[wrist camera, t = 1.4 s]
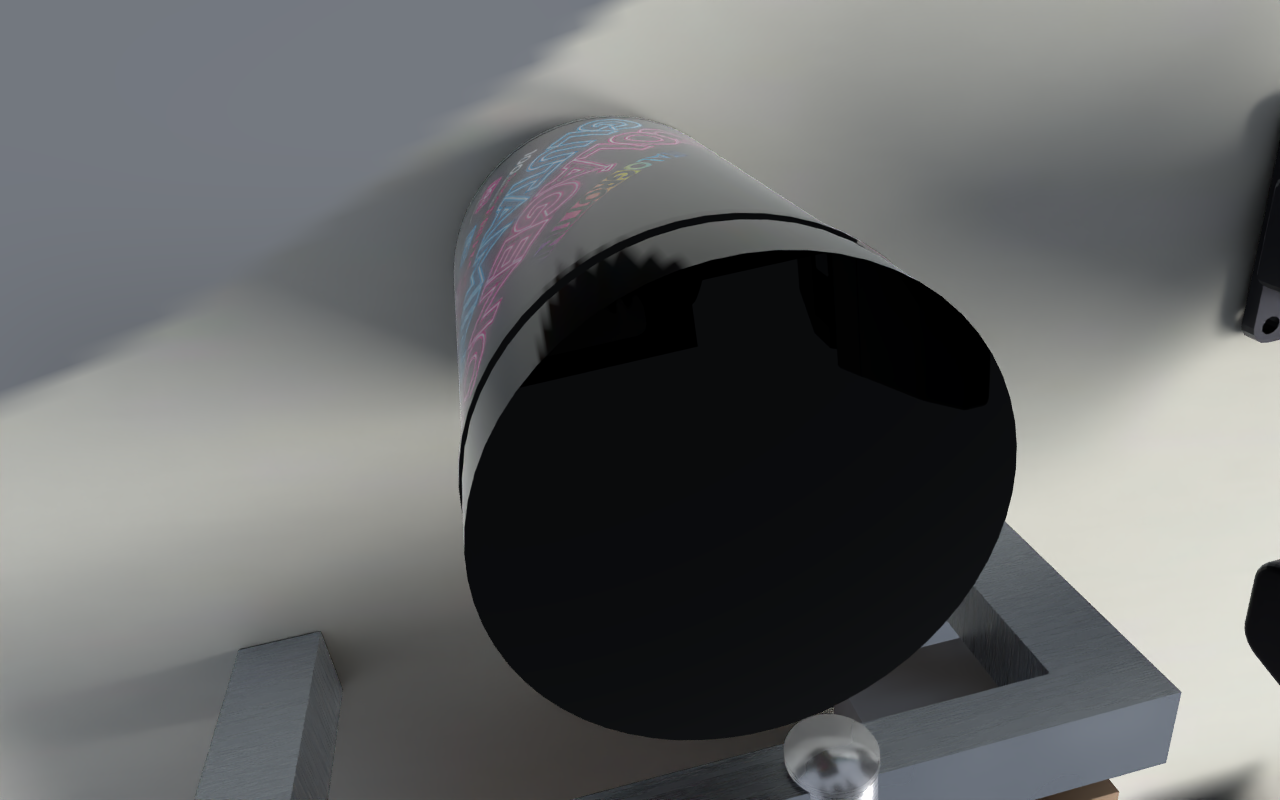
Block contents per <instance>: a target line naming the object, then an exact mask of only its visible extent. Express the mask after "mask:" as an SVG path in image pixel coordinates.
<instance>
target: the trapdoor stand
mask: <svg viewBox="0 0 1280 800" xmlns="http://www.w3.org/2000/svg"><path fill="white" fill-rule="evenodd" d="M957 638H961V639H962V641H963V642H964V643H965V645H966V646H967V647H968V648H969V650H970V651H971V652H972V653H973V655H974V656H975V657H976V659H977V660H978V661H979V662H980V664H981V665H982V666H983V668H984V669H985V670H986V671H987V673H988V674H989V675H990V676H991V678H992V679H993V680H994V682H995V683H996V684H997V685H998V687H997V688H993V689H990V690H986V691H982V692H978V693H974V694H971V695H967V696H963V697H959V698H955V699H952V700H948V701H944V702H940V703H936V704H933V705H929V706H925V707H921V708H917V709H914V710H910V711H906V712H902V713H898V714H895V715H891V716H887V717H883V718H879V719H876V720H872V721H868V722H864V723H859V722H857V721H855V720H853V719H851V718H848V717H845V716H841V715H836V714H820V715H814V716H811V717H808V718H806V719H804V720H802V721H800V722H798V723H797V724H796V725H795V726H794V727H793V728H792V729H791V730H790V731H789V733H788V735H787V737H786V739H785V742H784V744H781V745H777V746H773V747H769V748H765V749H762V750H758V751H754V752H750V753H746V754H743V755H739V756H735V757H731V758H727V759H724V760H720V761H716V762H712V763H708V764H705V765H701V766H697V767H693V768H689V769H686V770H682V771H678V772H674V773H670V774H667V775H663V776H659V777H655V778H651V779H648V780H644V781H640V782H636V783H632V784H629V785H625V786H621V787H617V788H613V789H610V790H606V791H602V792H598V793H594V794H591V795H587V796H583V797H579V798H575V799H572V800H1036V799H1039V798H1043V797H1046V796H1050V795H1053V794H1057V793H1060V792H1064V791H1068V790H1071V789H1075V788H1078V787H1082V786H1085V785H1089V784H1092V783H1096V782H1099V781H1103V780H1107V779H1110V778H1114V777H1117V776H1121V775H1124V774H1128V773H1131V772H1135V771H1138V770H1142V769H1145V768H1149V767H1153V766H1156V765H1160V764H1163V763H1166V760H1167V756H1168V751H1169V746H1170V742H1171V737H1172V733H1173V728H1174V723H1175V719H1176V714H1177V710H1178V705H1179V701H1180V696H1181V691H1180V690H1179V689H1178V688H1177V687H1176V686H1175V685H1174V684H1173V683H1171V682H1170V681H1169V680H1168V679H1167V678H1166V677H1165V676H1164V675H1163V674H1162V673H1161V672H1160V671H1159V670H1158V669H1157V668H1156V667H1155V666H1154V665H1153V664H1152V663H1151V662H1150V661H1149V660H1148V659H1147V658H1146V657H1145V656H1144V655H1143V654H1142V653H1140V652H1139V651H1138V650H1137V649H1136V648H1135V647H1134V646H1133V645H1132V644H1131V643H1130V642H1129V641H1128V640H1127V639H1126V638H1125V637H1124V636H1123V635H1122V634H1121V633H1120V632H1119V631H1118V630H1117V629H1116V628H1115V627H1114V626H1113V625H1112V624H1111V623H1109V622H1108V621H1107V620H1106V619H1105V618H1104V617H1103V616H1102V615H1101V614H1100V613H1099V612H1098V611H1097V610H1096V609H1095V608H1094V607H1093V606H1092V605H1091V604H1090V603H1089V602H1088V601H1087V600H1086V599H1085V598H1084V597H1083V596H1082V595H1081V594H1080V593H1078V592H1077V591H1076V590H1075V589H1074V588H1073V587H1072V586H1071V585H1070V584H1069V583H1068V582H1067V581H1066V580H1065V579H1064V578H1063V577H1062V576H1061V575H1060V574H1059V573H1058V572H1057V571H1056V570H1055V569H1054V568H1053V567H1052V566H1051V565H1050V564H1049V563H1047V562H1046V561H1045V560H1044V559H1043V558H1042V557H1041V556H1040V555H1039V554H1038V553H1037V552H1036V551H1035V550H1034V549H1033V548H1032V547H1031V546H1030V545H1029V544H1028V543H1027V542H1026V541H1025V540H1024V539H1023V538H1022V537H1021V536H1020V535H1019V534H1018V533H1016V532H1015V531H1014V530H1013V529H1012V528H1011V527H1010V526H1009V525H1008V524H1007V523H1006V522H1005V521H1004V524H1003V527H1002V530H1001V533H1000V535H999V538H998V540H997V543H996V545H995V547H994V549H993V551H992V553H991V555H990V558H989V560H988V562H987V564H986V565H985V567H984V569H983V570H982V572H981V574H980V576H979V577H978V579H977V581H976V583H975V584H974V586H973V587H972V588H971V590H970V591H969V593H968V594H967V596H966V597H965V598H964V600H963V601H962V603H961V604H960V605H959V607H958V608H957V609H956V610H955V611H954V613H953V614H952V615H951V616H950V618H949V619H948V620H947V621H946V622H945V624H944V625H943V626H942V627H941V628H940V629H939V630H938V631H937V632H936V633H935V634H934V635H933V636H932V637H931V638H930V639H929V640H928V641H927V642H926V643H925V644H924V645H923V646H922V647H925V646H929V645H933V644H937V643H941V642H945V641H949V640H953V639H957ZM342 692H343V689H342V686H341V683H340V681H339V678H338V676H337V673H336V670H335V668H334V665H333V662H332V660H331V657H330V655H329V652H328V649H327V647H326V644H325V642H324V639H323V636H322V634H321V631H320V632H315V633H311V634H307V635H302V636H298V637H294V638H289V639H285V640H281V641H276V642H272V643H268V644H263V645H259V646H255V647H250V648H246V649H242V650H239V651H238V654H237V658H236V661H235V664H234V668H233V671H232V674H231V678H230V681H229V685H228V688H227V691H226V695H225V698H224V701H223V705H222V708H221V712H220V715H219V718H218V722H217V725H216V728H215V732H214V735H213V739H212V742H211V745H210V749H209V752H208V756H207V759H206V762H205V766H204V769H203V772H202V776H201V779H200V783H199V786H198V789H197V793H196V796H195V799H194V800H328V796H329V788H330V781H331V773H332V766H333V759H334V751H335V744H336V736H337V729H338V721H339V714H340V706H341V699H342Z"/></svg>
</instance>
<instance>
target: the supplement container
mask: <svg viewBox="0 0 1280 800" xmlns="http://www.w3.org/2000/svg"><path fill="white" fill-rule="evenodd" d="M454 294H455V314H456V335H457V355H458V376H459V396H460V416H461V438H460V446H459V455H458V478H459V493H460V500H461V508H462V513H463V535H464V555H465V563H466V571H467V579H468V583H469V587H470V590H471V594H472V598H473V602H474V605H475V607H476V610H477V612H478V615H479V617H480V619H481V622H482V624H483V626H484V628H485V630H486V632H487V633H488V635H489V637H490V639H491V640H492V642H493V644H494V646H495V647H496V649H497V650H498V651H499V653H500V654H501V655H502V657H503V658H504V659H505V661H506V662H507V663H508V665H509V666H510V667H511V668H512V669H513V670H514V671H515V672H516V673H517V674H518V675H519V676H520V677H521V678H522V679H523V680H524V681H525V682H526V683H527V684H528V685H530V686H531V687H532V688H533V689H535V690H536V691H537V692H538V693H539V694H541V695H542V696H543V697H545V698H546V699H548V700H549V701H551V702H553V703H554V704H556V705H557V706H559V707H560V708H562V709H564V710H566V711H568V712H570V713H572V714H574V715H576V716H578V717H580V718H582V719H584V720H586V721H589V722H592V723H594V724H597V725H600V726H602V727H605V728H609V729H612V730H616V731H620V732H623V733H627V734H632V735H638V736H644V737H649V738H658V739H670V740H708V739H720V738H729V737H735V736H742V735H748V734H753V733H757V732H762V731H766V730H770V729H774V728H778V727H781V726H784V725H787V724H790V723H793V722H797V721H800V720H802V719H805V718H807V717H810V716H812V715H815V714H817V713H820V712H822V711H824V710H827V709H829V708H831V707H833V706H835V705H837V704H839V703H841V702H843V701H845V700H847V699H849V698H851V697H852V696H854V695H856V694H858V693H859V692H861V691H863V690H865V689H866V688H868V687H870V686H871V685H873V684H874V683H876V682H877V681H879V680H880V679H882V678H883V677H885V676H886V675H888V674H889V673H890V672H892V671H893V670H894V669H895V668H897V667H898V666H899V665H901V664H902V663H903V662H904V661H906V660H907V659H908V658H909V657H911V656H912V655H913V654H914V653H915V652H916V651H917V650H918V649H919V648H921V647H922V646H923V645H924V644H925V643H926V642H927V641H928V640H929V639H930V638H931V637H932V636H933V635H934V634H935V633H936V632H937V631H938V630H939V629H940V628H941V627H942V626H943V625H944V624H945V622H946V621H947V620H948V619H949V618H950V616H951V615H952V614H953V613H954V611H955V610H956V609H957V608H958V607H959V605H960V604H961V603H962V601H963V600H964V598H965V597H966V596H967V594H968V593H969V591H970V590H971V588H972V587H973V586H974V584H975V583H976V581H977V579H978V577H979V576H980V574H981V572H982V570H983V569H984V567H985V565H986V564H987V562H988V560H989V558H990V555H991V553H992V551H993V549H994V547H995V545H996V543H997V540H998V538H999V535H1000V533H1001V530H1002V527H1003V524H1004V521H1005V519H1006V516H1007V512H1008V508H1009V504H1010V500H1011V496H1012V492H1013V485H1014V478H1015V471H1016V450H1017V443H1016V430H1015V420H1014V415H1013V410H1012V405H1011V400H1010V396H1009V393H1008V390H1007V387H1006V384H1005V381H1004V378H1003V375H1002V373H1001V371H1000V369H999V367H998V365H997V363H996V361H995V359H994V357H993V355H992V353H991V351H990V350H989V348H988V347H987V345H986V344H985V342H984V341H983V339H982V338H981V336H980V335H979V333H978V332H977V331H976V330H975V329H974V327H973V326H972V325H971V324H970V323H969V322H968V321H967V319H966V318H965V317H964V316H963V315H962V314H961V313H960V312H959V311H958V310H957V309H956V308H954V307H953V306H952V305H951V304H950V303H949V302H948V301H946V300H945V299H944V298H943V297H942V296H940V295H939V294H937V293H936V292H934V291H933V290H931V289H930V288H928V287H927V286H925V285H924V284H922V283H921V282H919V281H918V280H916V279H915V278H913V277H911V276H910V275H908V274H907V273H905V272H904V271H902V270H901V269H899V268H897V267H896V266H895V265H894V264H892V263H891V262H890V261H889V260H888V259H887V258H886V257H884V256H883V255H881V254H880V253H878V252H877V251H875V250H874V249H872V248H871V247H869V246H868V245H866V244H865V243H863V242H862V241H860V240H859V239H857V238H855V237H853V236H851V235H849V234H847V233H845V232H843V231H841V230H839V229H837V228H835V227H832V226H829V225H827V224H824V223H823V222H821V221H820V220H818V219H816V218H815V217H813V216H812V215H810V214H809V213H807V212H806V211H804V210H803V209H801V208H799V207H798V206H796V205H795V204H793V203H792V202H790V201H789V200H787V199H786V198H784V197H783V196H781V195H779V194H778V193H776V192H775V191H773V190H772V189H770V188H769V187H767V186H766V185H764V184H762V183H761V182H759V181H758V180H756V179H755V178H753V177H752V176H750V175H749V174H747V173H745V172H744V171H742V170H741V169H739V168H738V167H736V166H735V165H733V164H732V163H730V162H729V161H727V160H725V159H724V158H722V157H721V156H719V155H718V154H716V153H715V152H713V151H712V150H710V149H708V148H707V147H705V146H704V145H702V144H701V143H699V142H698V141H696V140H695V139H693V138H691V137H690V136H688V135H686V134H684V133H682V132H680V131H679V130H677V129H675V128H672V127H669V126H667V125H664V124H662V123H659V122H655V121H651V120H647V119H643V118H636V117H629V116H598V117H590V118H585V119H579V120H575V121H571V122H568V123H565V124H561V125H559V126H556V127H554V128H551V129H549V130H547V131H544V132H542V133H541V134H539V135H537V136H535V137H533V138H531V139H530V140H528V141H527V142H525V143H524V144H522V145H521V146H519V147H518V148H517V149H515V150H514V151H513V152H512V153H510V154H509V155H508V156H507V157H506V158H505V159H504V160H502V161H501V162H500V163H499V164H498V166H497V167H496V168H495V169H494V170H493V171H492V172H491V173H490V174H489V176H488V177H487V178H486V180H485V181H484V182H483V184H482V185H481V186H480V188H479V189H478V191H477V193H476V194H475V196H474V198H473V200H472V201H471V203H470V205H469V208H468V210H467V212H466V214H465V216H464V219H463V222H462V225H461V228H460V231H459V235H458V239H457V244H456V249H455V258H454Z"/></svg>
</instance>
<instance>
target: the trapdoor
mask: <svg viewBox="0 0 1280 800" xmlns="http://www.w3.org/2000/svg"><path fill="white" fill-rule="evenodd" d="M997 687H998V685H997V684H996V683H995V682H994V680H993V679H992V678H991V676H990V675H989V674H988V673H987V671H986V670H985V669H984V668H983V666H982V665H981V664H980V662H979V661H978V660H977V659H976V657H975V656H974V655H973V653H972V652H971V651H970V650H969V648H968V647H967V646H966V645H965V643H964V642H963V641H962V639H961V638H957V639H953V640H949V641H945V642H941V643H937V644H933V645H929V646H925V647H921V648H919V649H918V650H917V651H916V652H915V653H914V654H913V655H912V656H911V657H909V658H908V659H907V660H906V661H904V662H903V663H902V664H901V665H899V666H898V667H897V668H895V669H894V670H893V671H892V672H890V673H889V674H888V675H886V676H885V677H883V678H882V679H880V680H879V681H877V682H876V683H874V684H873V685H871V686H870V687H868V688H866V689H865V690H863V691H861V692H859V693H858V694H856V695H854V696H852V697H851V698H849V699H847V700H845V701H843V702H841V703H839V704H837V705H835V706H834V714H836V715H841V716H845V717H848V718H851V719H853V720H855V721H857V722H859V723H864V722H868V721H872V720H876V719H879V718H883V717H887V716H891V715H895V714H898V713H902V712H906V711H910V710H914V709H917V708H921V707H925V706H929V705H933V704H936V703H940V702H944V701H948V700H952V699H955V698H959V697H963V696H967V695H971V694H974V693H978V692H982V691H986V690H990V689H993V688H997ZM1118 795H1119V791H1118V790H1117V789H1116V787H1115V786H1114V785H1113V784H1112V782H1111V781H1110V780H1109V779H1107V780H1103V781H1099V782H1096V783H1092V784H1089V785H1085V786H1082V787H1078V788H1075V789H1071V790H1068V791H1064V792H1060V793H1057V794H1053V795H1050V796H1046V797H1043V798H1039V799H1036V800H1118Z"/></svg>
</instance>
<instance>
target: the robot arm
mask: <svg viewBox="0 0 1280 800" xmlns="http://www.w3.org/2000/svg"><path fill="white" fill-rule="evenodd" d="M1264 322H1265V323H1264ZM1242 331H1243V333H1244V335H1246V336H1248V337H1250V338H1252V339H1254V340H1256V341H1259V342H1261V343H1267V342H1272V341H1276V340H1280V142H1279V147H1278V152H1277V157H1276V161H1275V166H1274V171H1273V176H1272V181H1271V186H1270V190H1269V195H1268V200H1267V205H1266V210H1265V215H1264V219H1263V224H1262V229H1261V234H1260V239H1259V244H1258V248H1257V253H1256V258H1255V263H1254V268H1253V273H1252V277H1251V282H1250V287H1249V292H1248V297H1247V302H1246V306H1245V311H1244V316H1243V321H1242ZM1245 635H1246V638H1247V641H1248V643H1249V645H1250V647H1251V649H1252V651H1253V652H1254V653H1255V655H1256V656H1257V657H1258V659H1259V660H1260V661H1261V662H1262V664H1263V665H1264V666H1265V667H1266V669H1267V670H1268V671H1269V672H1270V674H1271V675H1272V676H1273V678H1274V679H1275V680H1276V681H1277V683H1278V684H1279V685H1280V559H1279V560H1275V561H1272V562H1268V563H1266V564H1264V565H1262V566H1261V567H1260V568H1259V569H1258V571H1257V573H1256V575H1255V579H1254V584H1253V588H1252V593H1251V597H1250V602H1249V607H1248V611H1247V616H1246V620H1245Z"/></svg>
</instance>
